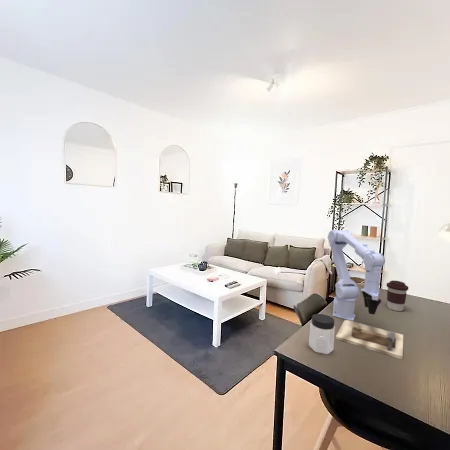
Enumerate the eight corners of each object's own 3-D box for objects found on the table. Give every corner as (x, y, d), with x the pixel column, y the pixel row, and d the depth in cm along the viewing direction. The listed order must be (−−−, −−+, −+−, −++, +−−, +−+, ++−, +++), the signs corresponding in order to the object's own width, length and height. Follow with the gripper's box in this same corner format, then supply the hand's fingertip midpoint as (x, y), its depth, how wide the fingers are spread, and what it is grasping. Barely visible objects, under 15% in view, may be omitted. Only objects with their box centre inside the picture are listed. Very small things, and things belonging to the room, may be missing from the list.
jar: (308, 351, 98) (310, 320, 97) (308, 340, 106) (310, 312, 105) (334, 356, 95) (336, 324, 94) (332, 345, 103) (334, 315, 102)
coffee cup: (405, 308, 144) (408, 281, 143) (406, 314, 136) (409, 286, 135) (384, 303, 150) (387, 278, 148) (384, 309, 141) (386, 282, 140)
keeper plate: (335, 338, 108) (336, 325, 107) (344, 321, 124) (345, 309, 124) (402, 359, 95) (403, 343, 94) (403, 337, 111) (404, 324, 111)
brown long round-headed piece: (351, 336, 107) (351, 329, 107) (351, 333, 110) (352, 326, 110) (395, 348, 99) (396, 340, 99) (394, 344, 103) (395, 336, 102)
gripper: (358, 275, 122) (356, 303, 123) (365, 284, 108) (363, 315, 110) (375, 277, 120) (373, 305, 121) (384, 286, 106) (381, 318, 108)
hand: (369, 310), depth 115 cm, fingers open, 7 cm apart
